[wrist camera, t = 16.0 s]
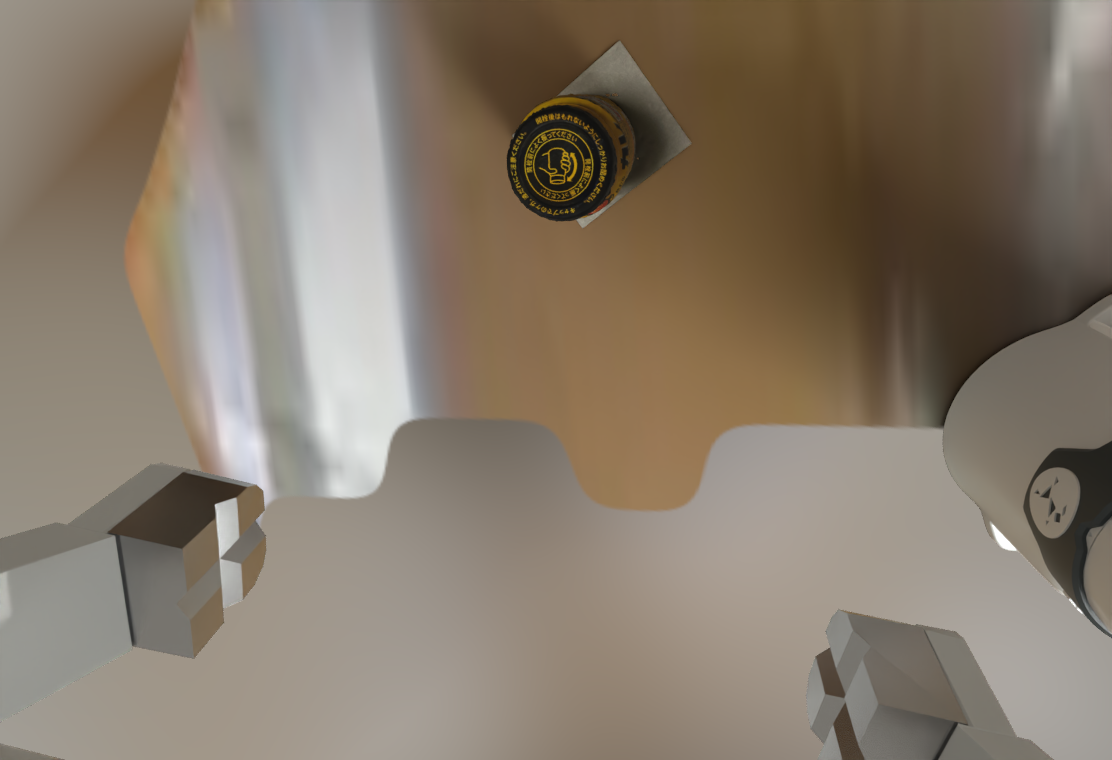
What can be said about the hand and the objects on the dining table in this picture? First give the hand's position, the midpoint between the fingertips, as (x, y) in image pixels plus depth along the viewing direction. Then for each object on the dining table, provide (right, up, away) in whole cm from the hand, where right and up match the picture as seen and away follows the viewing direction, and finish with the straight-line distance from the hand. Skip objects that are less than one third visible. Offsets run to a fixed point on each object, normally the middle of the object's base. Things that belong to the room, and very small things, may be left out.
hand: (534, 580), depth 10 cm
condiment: (+3, +18, +33) cm, 38 cm away
